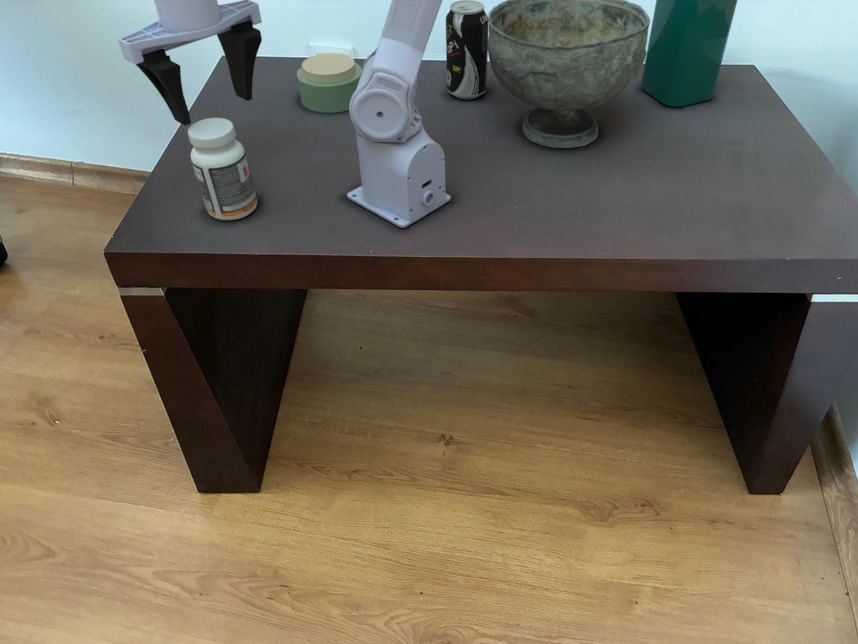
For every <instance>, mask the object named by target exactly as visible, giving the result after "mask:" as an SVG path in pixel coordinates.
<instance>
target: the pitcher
mask: <svg viewBox="0 0 858 644" xmlns="http://www.w3.org/2000/svg"><path fill="white" fill-rule="evenodd" d="M738 2H739V1H738V0H656V1H655V5H654V10H653V17H652V23H651V28H650V34H649V40H648V45H647V49H646V57H645V61H644V65H643V66H644V67H643V73H642V78H641V83H640V86H641V89H642V91H644V92H645V93H646V94H648V95H650V97H652V98H654V99H655V100H656V101H658V102H659V103H661V104H662V105H664V106H667V107H670V108H682V107H685V106H690V105H694V104H698V103H702V102H707V101H709V100H711V99H712V98H713V97H714V95H715V90H716V86H717V82H718V79H719V75H720V71H721V67H722V63H723V59H724V55H725V51H726V47H727V43H728V39H729V36H730V32H731V28H732V23H733V19H734V16H735V12H736V8H737V3H738Z"/></svg>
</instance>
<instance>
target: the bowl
mask: <svg viewBox="0 0 858 644" xmlns="http://www.w3.org/2000/svg"><path fill="white" fill-rule="evenodd" d="M487 16H488V43H487V45H488V59H489V63H490V68H491V70H492V72H493V75H494V77H495V78H496V80H497V81H498V83H499V85H500V86H502V88H504V89H505V90H506V91H507V92H509V93H510V95H512V96H514V97H515V98H516V99H518V100H520V101H521V102H523V103H525V104H528V105H532V106H535V108H532V110H530V111H529V112H528V113H527V114H526V115H525V116H524V118H523V121H522V124H521V125H522V127H521V128H522V132H523V135H524V136H525V137H526V138H527V139H528V140H529V141H531V142H533V143H535V144H536V145H537V144H538V145H540V146H542V147H547V148H552V149H553V148H554V149H571V148H579V147H583V146H586V145H588V144H590V143H592V142H593V141H594V140H596V138H597V137H598V134H599V125H598V122H597V120H596V119H595V118H594V116H592V115H591V114H590V113H589V112H588V111H585V110H584V109H591V108H596V107H599V106H601V105H603V104H605V103H607V102H609V101H611V100H612V99H614V98H616V97H618V96H620V95H621V94H622V93H623V92H624V91H626V89H628V87H629V86H631V84H632V82H633V81H634V80H635V79H636V78H637V76H638V75H639V73H640V71H641V69H642V67H643V66H644V63H645V61H646V55H647V49H646V48H647V43H648V36H649V35H648V34H649V27H650V24H651V20H650V16H649V15H648V13H647V12H646V11H645V10H644V8H643V7H642V6H640V5H639V4H637V3H633V2H630V1H628V0H504V1H502V2H500V3H498V4H497V5H495V6H493V8H492V9H491V10H490V11H489V13H488V15H487Z"/></svg>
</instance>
